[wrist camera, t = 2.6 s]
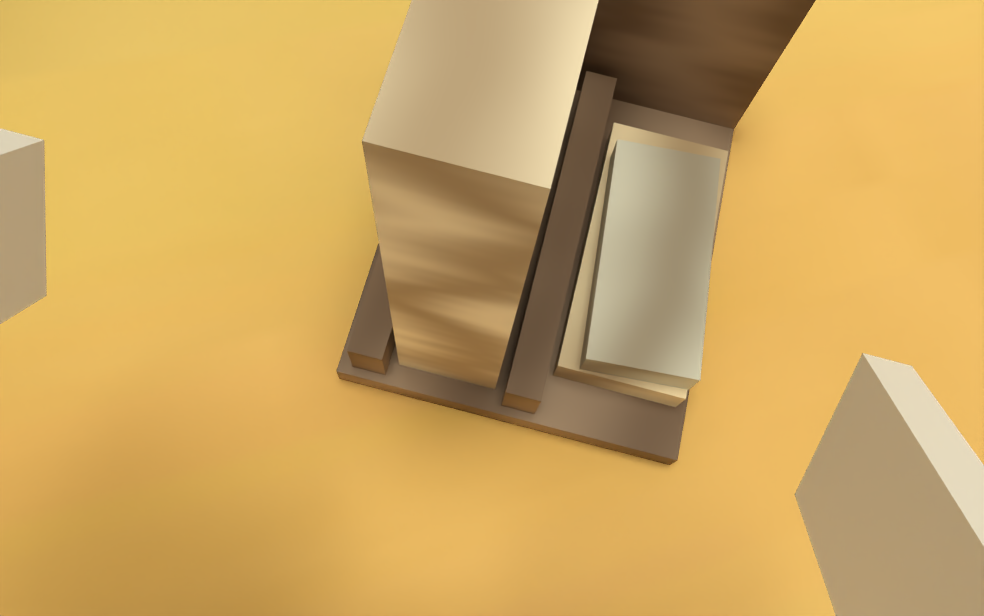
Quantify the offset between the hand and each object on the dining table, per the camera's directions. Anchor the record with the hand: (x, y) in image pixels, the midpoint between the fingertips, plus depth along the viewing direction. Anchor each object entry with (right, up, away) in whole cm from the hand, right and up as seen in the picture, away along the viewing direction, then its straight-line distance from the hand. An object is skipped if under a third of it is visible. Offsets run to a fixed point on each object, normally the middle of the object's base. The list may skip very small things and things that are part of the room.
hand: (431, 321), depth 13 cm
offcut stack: (+7, +2, +18) cm, 19 cm away
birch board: (+1, +3, +18) cm, 18 cm away
